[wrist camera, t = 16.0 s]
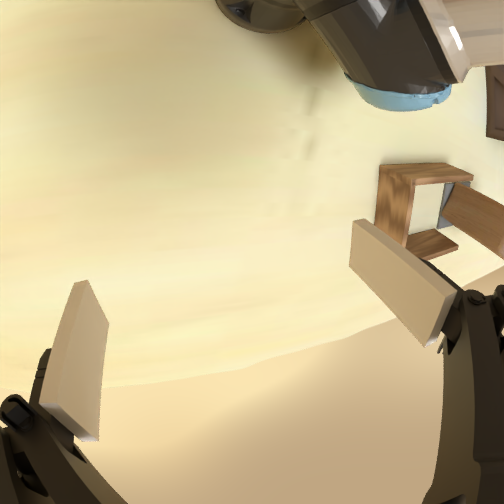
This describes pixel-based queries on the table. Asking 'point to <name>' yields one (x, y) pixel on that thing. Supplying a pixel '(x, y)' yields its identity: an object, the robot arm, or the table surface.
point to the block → (476, 217)
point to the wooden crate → (495, 101)
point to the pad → (446, 193)
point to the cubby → (401, 202)
